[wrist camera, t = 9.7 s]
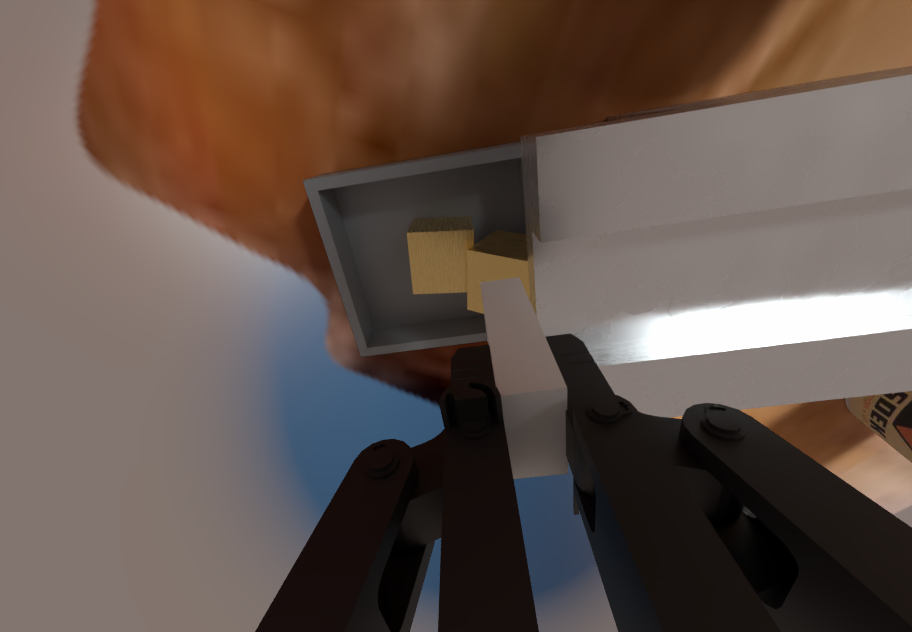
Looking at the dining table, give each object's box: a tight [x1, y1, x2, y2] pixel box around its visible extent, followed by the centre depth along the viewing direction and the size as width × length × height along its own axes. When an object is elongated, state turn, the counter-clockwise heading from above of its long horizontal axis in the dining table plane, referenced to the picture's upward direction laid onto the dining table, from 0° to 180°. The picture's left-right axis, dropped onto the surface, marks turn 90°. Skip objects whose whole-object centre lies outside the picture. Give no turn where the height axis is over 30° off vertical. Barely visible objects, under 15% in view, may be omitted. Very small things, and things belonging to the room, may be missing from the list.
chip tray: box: [303, 141, 526, 357], centre depth 22 cm, size 11×12×3 cm
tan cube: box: [467, 230, 530, 314], centre depth 19 cm, size 4×4×4 cm
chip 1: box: [407, 216, 474, 294], centre depth 21 cm, size 4×4×4 cm
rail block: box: [520, 66, 912, 417], centre depth 17 cm, size 12×20×10 cm, turn 99°
